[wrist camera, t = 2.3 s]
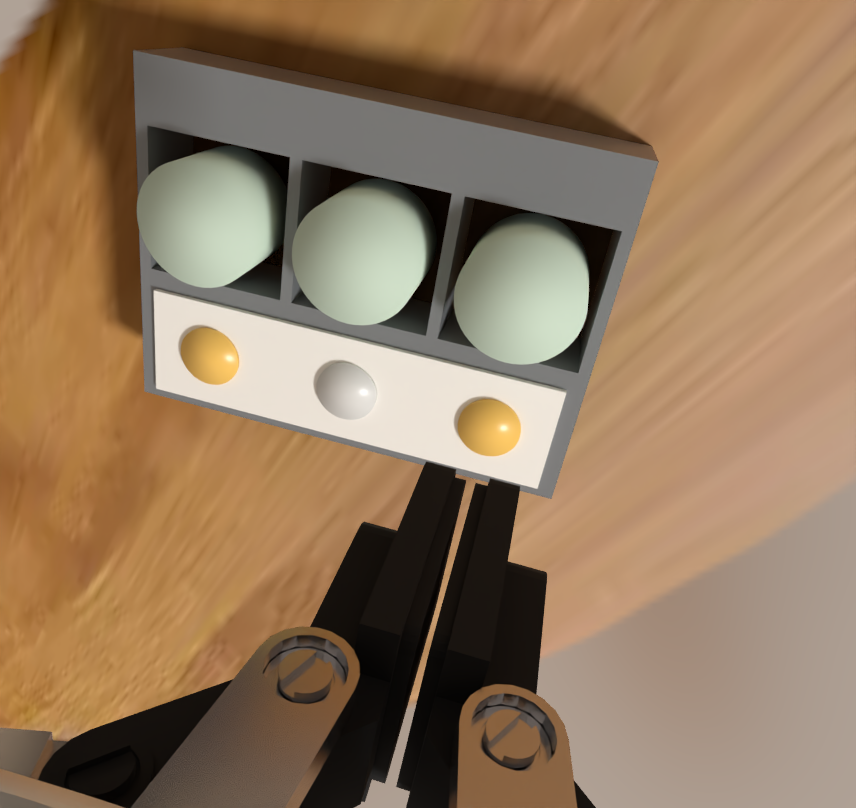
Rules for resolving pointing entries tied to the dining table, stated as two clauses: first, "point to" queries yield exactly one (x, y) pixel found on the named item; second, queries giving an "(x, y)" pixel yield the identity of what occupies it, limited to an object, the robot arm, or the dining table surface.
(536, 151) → the button board
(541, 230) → the end button
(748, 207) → the dining table surface
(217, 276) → the end button
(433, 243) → the middle button
